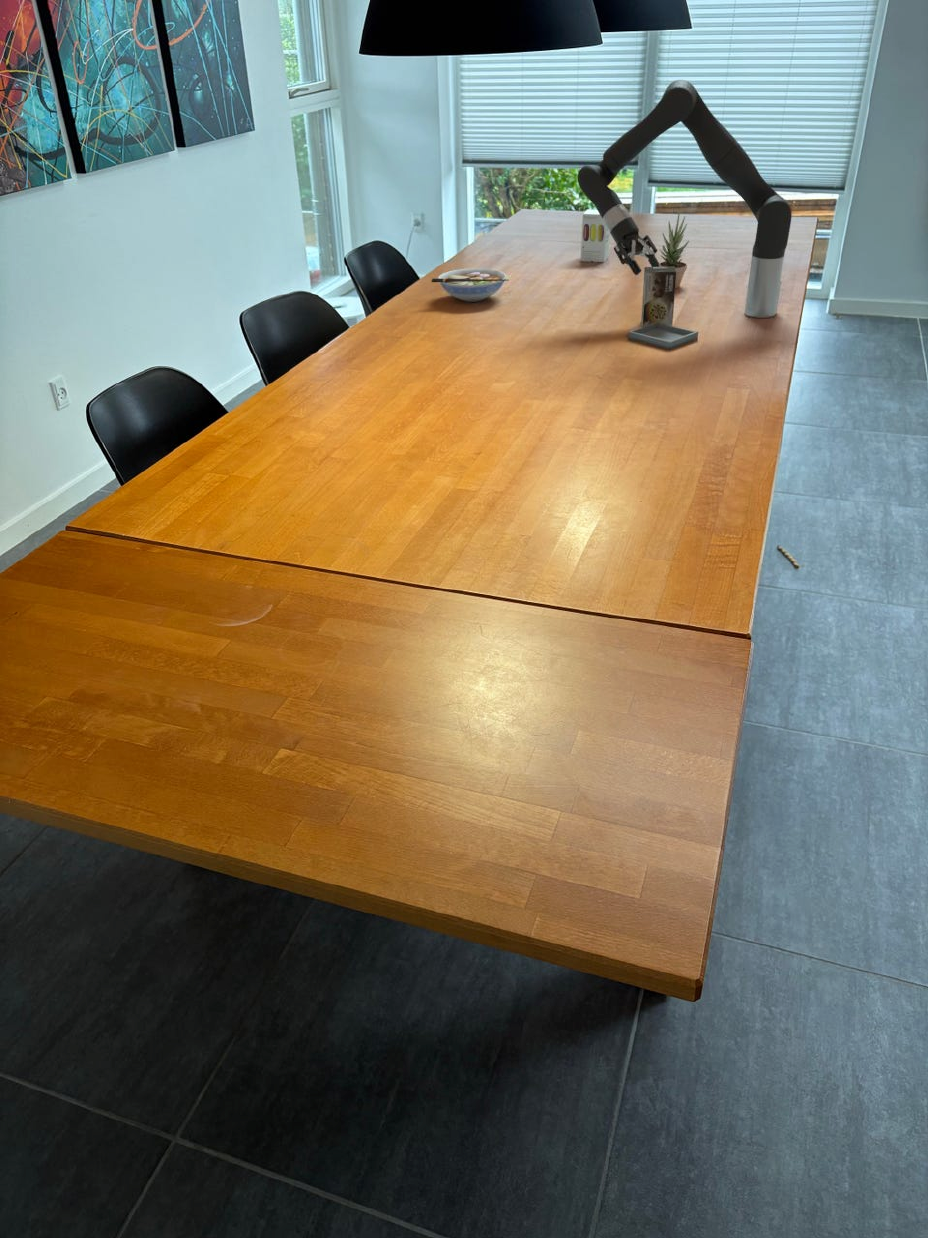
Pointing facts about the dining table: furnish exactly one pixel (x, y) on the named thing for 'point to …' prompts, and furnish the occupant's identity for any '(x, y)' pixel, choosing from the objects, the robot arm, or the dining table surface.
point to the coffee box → (658, 295)
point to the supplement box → (594, 237)
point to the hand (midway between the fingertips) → (648, 270)
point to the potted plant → (675, 251)
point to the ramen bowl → (471, 283)
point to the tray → (663, 335)
